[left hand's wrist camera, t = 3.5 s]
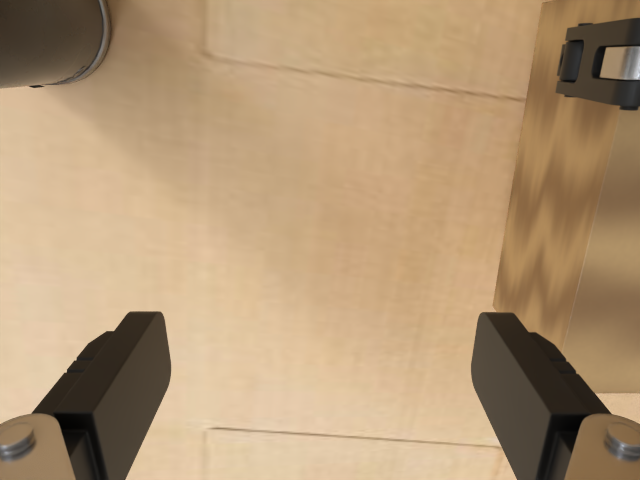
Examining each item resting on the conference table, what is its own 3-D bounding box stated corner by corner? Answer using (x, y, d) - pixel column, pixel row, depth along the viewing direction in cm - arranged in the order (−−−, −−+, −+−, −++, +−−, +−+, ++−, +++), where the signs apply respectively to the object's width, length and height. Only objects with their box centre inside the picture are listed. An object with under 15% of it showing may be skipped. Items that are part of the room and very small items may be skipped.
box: (573, 306, 34) (662, 393, 25) (492, 305, 34) (551, 393, 25) (647, 2, 26) (810, -24, 17) (541, 3, 26) (652, -24, 17)
